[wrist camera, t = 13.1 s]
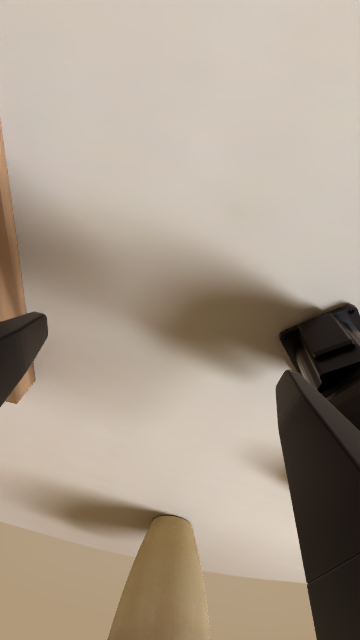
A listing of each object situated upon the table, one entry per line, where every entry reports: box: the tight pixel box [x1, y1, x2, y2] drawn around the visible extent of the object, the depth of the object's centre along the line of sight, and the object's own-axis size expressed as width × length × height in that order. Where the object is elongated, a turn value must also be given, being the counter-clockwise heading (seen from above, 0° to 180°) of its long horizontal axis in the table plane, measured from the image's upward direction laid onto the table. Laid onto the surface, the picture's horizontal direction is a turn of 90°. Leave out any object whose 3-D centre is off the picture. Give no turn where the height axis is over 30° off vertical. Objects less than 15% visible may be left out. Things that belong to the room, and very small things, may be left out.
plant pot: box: [108, 516, 211, 640], centre depth 41 cm, size 15×15×16 cm
